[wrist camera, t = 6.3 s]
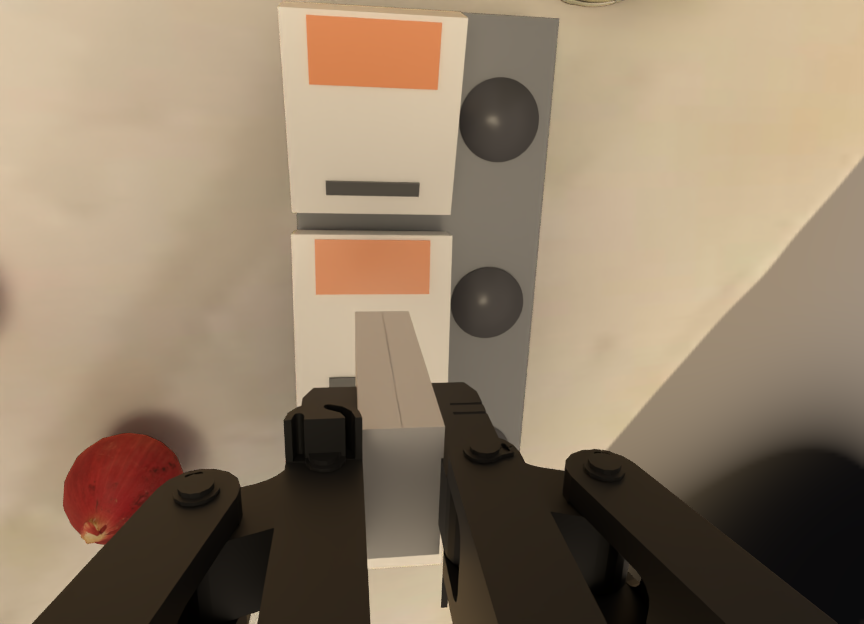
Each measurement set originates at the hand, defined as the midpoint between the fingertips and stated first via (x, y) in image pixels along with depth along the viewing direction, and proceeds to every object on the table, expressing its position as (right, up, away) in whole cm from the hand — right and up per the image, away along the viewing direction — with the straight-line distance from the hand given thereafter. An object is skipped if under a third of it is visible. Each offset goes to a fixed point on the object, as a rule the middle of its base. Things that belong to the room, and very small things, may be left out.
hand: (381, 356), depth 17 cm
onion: (-16, -7, +20) cm, 26 cm away
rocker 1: (-1, +9, +8) cm, 12 cm away
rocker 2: (-1, +1, +11) cm, 11 cm away
